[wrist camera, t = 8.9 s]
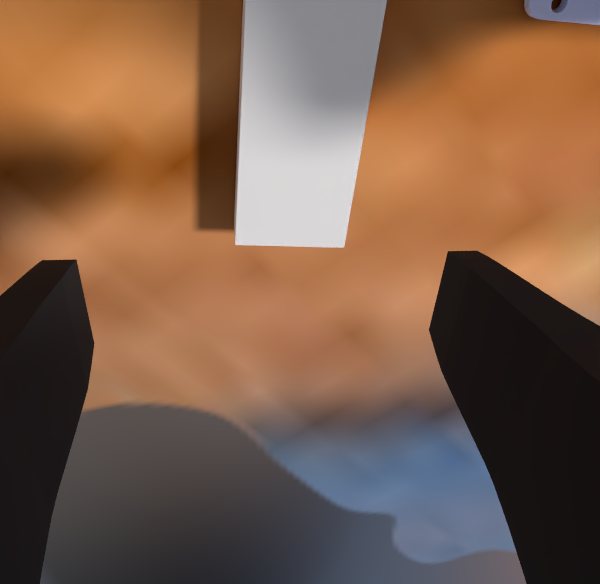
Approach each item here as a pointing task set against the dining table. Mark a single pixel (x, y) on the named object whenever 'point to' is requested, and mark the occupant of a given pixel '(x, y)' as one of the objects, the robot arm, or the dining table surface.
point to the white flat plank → (302, 117)
